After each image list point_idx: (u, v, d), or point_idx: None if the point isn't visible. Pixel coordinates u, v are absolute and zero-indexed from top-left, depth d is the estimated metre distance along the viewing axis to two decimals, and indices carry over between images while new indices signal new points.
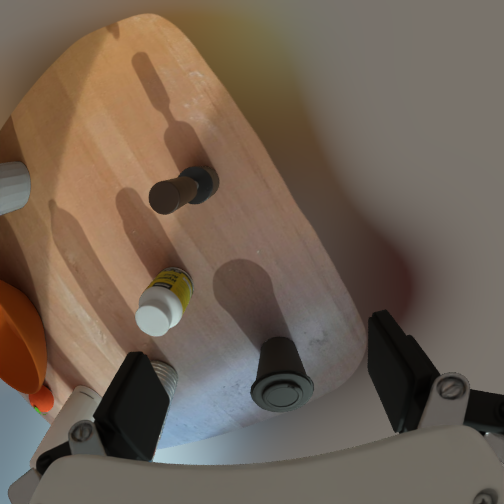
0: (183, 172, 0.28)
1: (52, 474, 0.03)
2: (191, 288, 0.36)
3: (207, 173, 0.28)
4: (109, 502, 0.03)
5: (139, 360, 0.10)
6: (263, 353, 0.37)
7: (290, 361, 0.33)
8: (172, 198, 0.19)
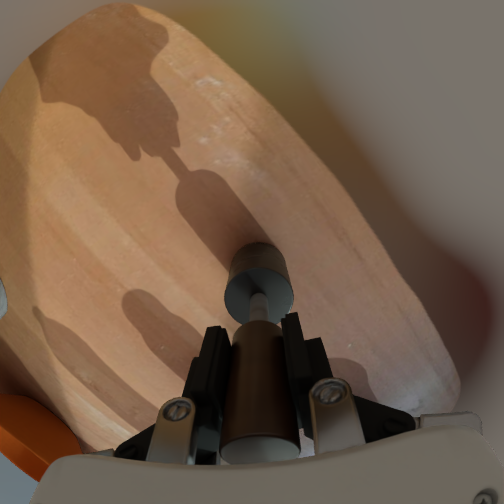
0: (234, 280, 0.16)
1: (52, 474, 0.03)
2: None
3: (280, 276, 0.16)
4: (109, 502, 0.03)
5: (221, 333, 0.11)
6: None
7: None
8: (283, 454, 0.06)
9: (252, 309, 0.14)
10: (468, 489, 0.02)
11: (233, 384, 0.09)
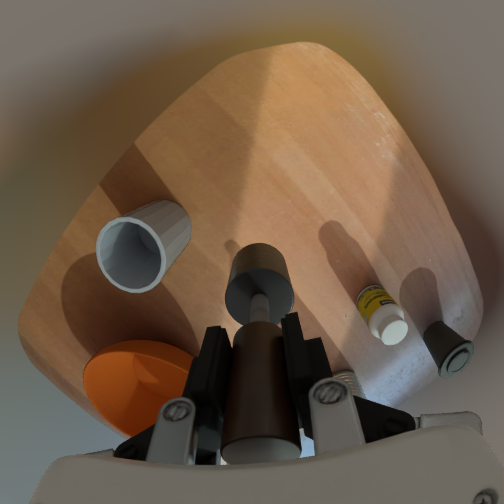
0: (235, 281, 0.16)
1: (52, 474, 0.03)
2: None
3: (281, 277, 0.16)
4: (109, 502, 0.03)
5: (221, 333, 0.11)
6: (433, 336, 0.40)
7: (458, 336, 0.36)
8: (283, 454, 0.06)
9: (253, 310, 0.14)
10: (468, 489, 0.02)
11: (234, 385, 0.09)
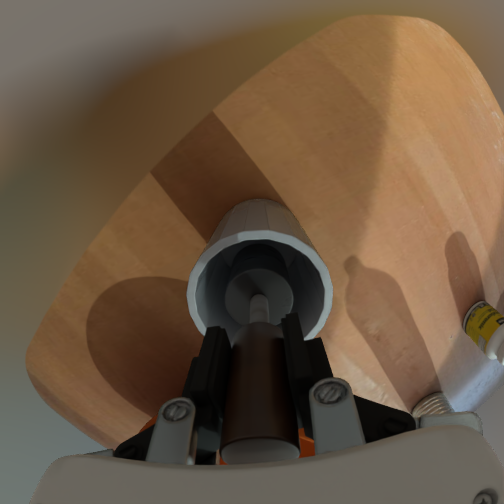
0: (234, 282, 0.16)
1: (52, 474, 0.03)
2: None
3: (280, 277, 0.16)
4: (109, 502, 0.03)
5: (221, 333, 0.11)
6: None
7: None
8: (283, 455, 0.06)
9: (252, 311, 0.14)
10: (468, 489, 0.02)
11: (233, 386, 0.09)
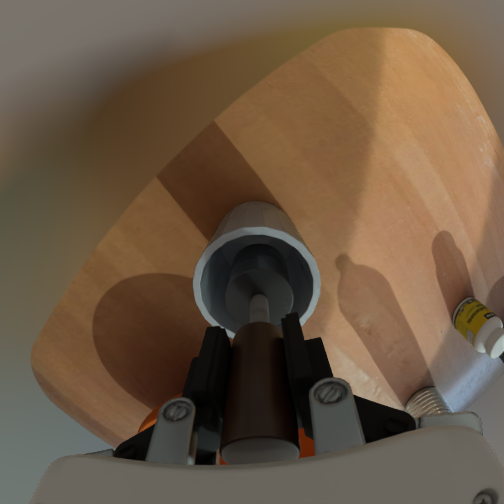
0: (234, 282, 0.16)
1: (52, 474, 0.03)
2: None
3: (280, 277, 0.16)
4: (109, 502, 0.03)
5: (221, 333, 0.11)
6: None
7: None
8: (283, 454, 0.07)
9: (252, 311, 0.14)
10: (468, 489, 0.02)
11: (233, 385, 0.09)
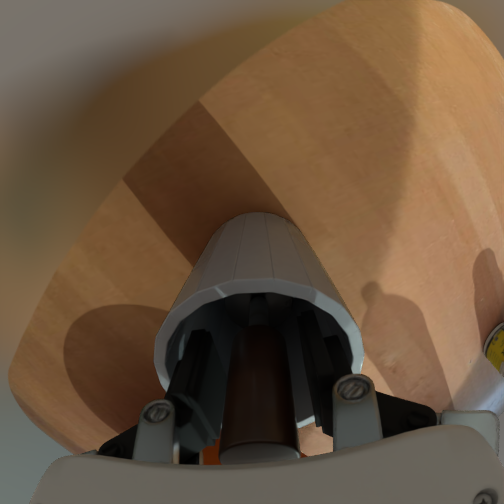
0: None
1: (52, 474, 0.03)
2: None
3: None
4: (109, 502, 0.03)
5: (205, 336, 0.11)
6: None
7: None
8: (282, 459, 0.06)
9: (252, 313, 0.14)
10: (468, 489, 0.02)
11: (232, 389, 0.08)
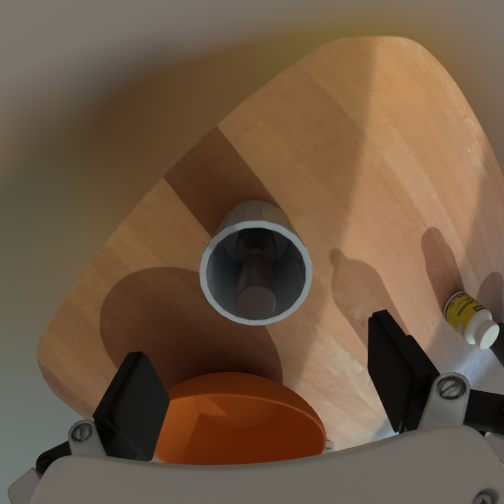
0: (241, 240, 0.26)
1: (52, 474, 0.03)
2: None
3: (268, 237, 0.26)
4: (109, 502, 0.03)
5: (139, 360, 0.10)
6: (498, 337, 0.34)
7: None
8: (267, 302, 0.17)
9: None
10: (468, 489, 0.02)
11: (242, 275, 0.19)
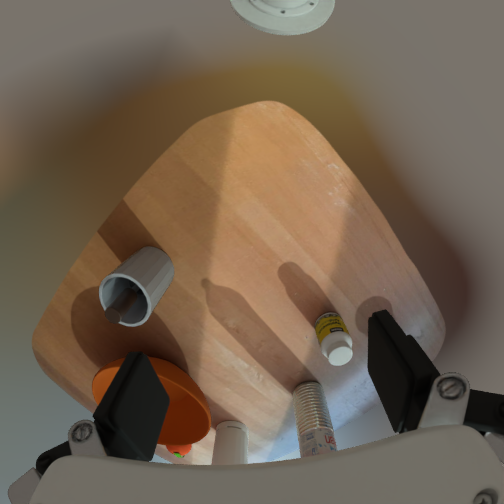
0: None
1: (52, 474, 0.03)
2: None
3: None
4: (109, 502, 0.03)
5: (139, 360, 0.10)
6: None
7: None
8: (116, 315, 0.31)
9: (133, 286, 0.39)
10: (468, 489, 0.02)
11: (113, 301, 0.34)
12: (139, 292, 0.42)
